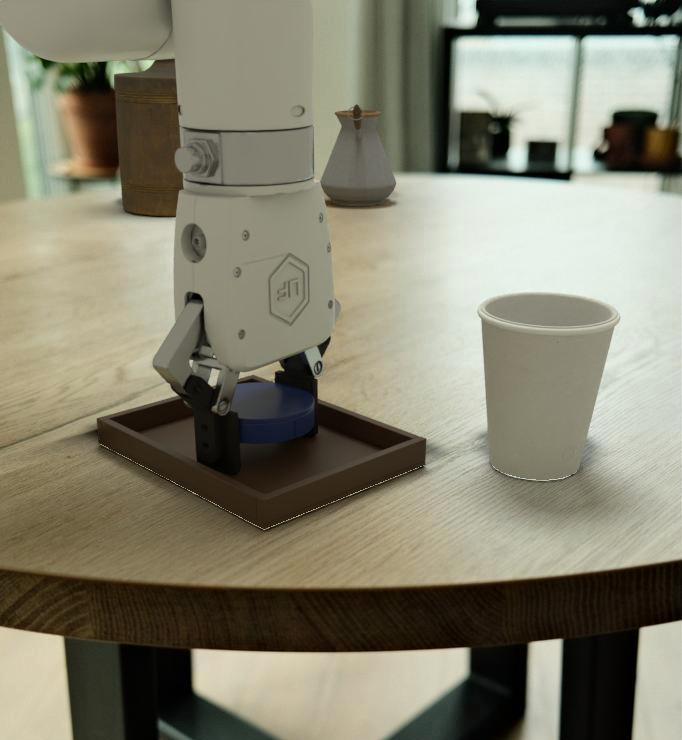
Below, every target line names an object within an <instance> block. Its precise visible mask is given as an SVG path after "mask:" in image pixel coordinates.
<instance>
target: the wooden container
mask: <svg viewBox="0 0 682 740" xmlns="http://www.w3.org/2000/svg"><path fill="white" fill-rule="evenodd" d="M113 89H114V96H115V97H114V99H115V113H116V114H115V115H116V116H115V117H116V133H117V150H118V151H117V152H118V162H119V163H118V166H119V167H118V168H119V176H120V177H119V179H120V185H121V188H120V191H121V200H122V208H123V210H124V211H126V212H128V213H131V214H136V215H141V216H150V217H176V211H177V203H178V195H179V191H180V190H183V189H184V187H183V173H182V172H180V171H179V170H178V168H177V167H176V164H175V152H176V151H177V149H178V148H181V143H180V128H179V127H180V125H179V113H178V98H177V83H176V68H175V59H163V60H153V63H152V64H151V65H150V66H149V67H147V68H146V69H145V70H142V71H135V72H118V73H114V74H113Z"/></svg>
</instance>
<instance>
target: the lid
mask: <svg viewBox="0 0 682 740" xmlns="http://www.w3.org/2000/svg"><path fill="white" fill-rule="evenodd" d="M230 411H233V412H237V413H238V417H239V435H240V443H248V444H265V443H276V442H282V441H287V440H291V439H295V438H298V437H300V436H303V435H305V434H306V433H308V432H309V431H310V430H312V428H313V427H314V397H313V396H312V394H310V393H309V392H308V391H306V390H304V389H301V388H297V387H293V386H289V385H285V384H279V383H275V382H274V383H264V382H257V383H242V384H237V385H236V389H235V393H234V396H233V400H232V404H231V407H230Z"/></svg>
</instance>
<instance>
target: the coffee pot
mask: <svg viewBox="0 0 682 740" xmlns="http://www.w3.org/2000/svg"><path fill="white" fill-rule="evenodd" d="M334 115H335V116H336V118H337V120H338V121H339V124H340V126H341V127H340V130H339V132H338V134H337V137H336V139H335V143H334V145H333V147H332V149H331V153H330V155H329V158H328V161H327V163H326V165H325V168H324V171H323V173H322V175H321V178H320V180H319V181H320V183H321V187H322V191H323V194H325V196H326V197H327V198H329V199H330V200H332V203H333V204H335V205H339V206H345V207H346V206H347V207H367V206H366V205H372V206H377V205H376V204H378V205H382V204H384V200H385V199H387V198H389V197H390V196H391V195H392V193H393V192H394V190H395V188H396V186H397V180H396V177H395V175H394V172H393V170H392V166H391V164H390V161H389V159H388V156H387V153H386V150H385V148H384V145H383V142H382V140H381V137H380V134H379V132H378V129H377V123H378V118H379V116H381V115H382V113H381V111H378V110H367V109H364V108H363V107H362V106H360V105H359V104H358V103H356V104H354V105H353V106H351V107H350V108H348V109H347V110H338V111H335V112H334ZM381 203H382V204H381Z"/></svg>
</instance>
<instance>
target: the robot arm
mask: <svg viewBox="0 0 682 740" xmlns="http://www.w3.org/2000/svg"><path fill="white" fill-rule="evenodd" d="M0 26H1V27H2V29H3V30H4V31H5V32H6V33H7V34H8V35H9V37H11V38H12V39H13V40H14V41H15V42H16V43H17V44H18V45H19V46H20V47H22V48H23V49H24V50H25V51H27V52H28V53H31V54H33V55H34V56H36V57H38V58H41V59H43V60H47V61H51V62H55V63H60V64H61V63H62V64H65V63H66V64H69V63H70V64H71V63H75V64H76V63H77V64H79V63H81V64H82V63H99V62H100V63H101V62H119V61H120V62H121V61H129V62H130V61H131V62H143V61H155V60H163V59H175V68H176V83H177V98H178V113H179V125H180V127H179V128H180V143H181V148H178V149H177V151H176V152H175V164H176V167H177V168H178V170H179V171H180V172H182V173H183V187H184V189H183V190H180V191H179V195H178V203H177V211H176V216H175V222H174V223H175V224H174V240H173V272H172V273H173V305H174V321H175V322H174V324H173V326H172V327H171V329H170V330H169V332H168V333H167V335H166V337H165V339H164V340H163V342H162V343H161V345H160V346H159V348H158V350H157V351H156V353H155V355H154V356H153V359H152V368H153V369H154V370H155V371H156V372H157V373H158V375H160V377H161V378H162V379H163V380H164V381H165V382H166V383H167V384H168V385H169V386H170V389H171V390H172V391H173V392H174V393H175V394H176V396H180V397H181V398H182V399H183V400H184V404H185V405H186V406H187V407H190V408H193V414H194V429H195V444H196V459H197V462H199V463H201V464H203V465H205V466H207V467H209V468H211V469H213V470H215V471H218V472H221V473H224V474H227V475H231V476H232V475H234V474H237V473H239V472H240V469H241V456H240V435H239V417H238V413H237V412H233V411H230V407H231V404H232V400H233V396H234V393H235V389H236V385H237V382H238V379H240V375H241V373H249V372H252V371H256V370H258V369H261V368H264V367H266V366H267V367H268V366H270V365H272V364H276V363H279V366H280V367H281V369H283V370H281V369H278V370H276V371H274V383H279V384H285V385H289V386H293V387H297V388H301V389H304V390H306V391H308V392H309V393H310V394H312V396H313V397H314V427H313V428H312V430H310V431H309V432H308V433H306V434H305V435H303V436H305V437H309V438H311V437H313V436H315V435H317V434H318V399H319V385H318V384H319V382H318V380H319V379H318V378H319V377H321V375H322V374H323V372H324V368H325V363H324V360H323V357H324V356H325V354H326V351H327V349H328V348H329V345H330V343H331V340H332V335H333V332H334V329H335V325H336V323H337V321H338V318H339V316H340V314H341V312H342V311H341V310H342V306H341V303H340V301H339V300H338V299H337V298H336V297H335V280H334V279H335V278H334V265H333V263H334V261H333V252H332V250H333V249H332V241H331V240H332V239H331V232H330V224H329V217H328V211H327V206H326V200H325V195H324V191H323V189H322V187H321V183H320V181H321V180H320V179H316V178H315V134H314V133H315V126H314V121H315V120H314V116H315V115H314V46H313V45H314V42H313V41H314V40H313V39H314V38H313V34H314V32H313V30H314V29H313V0H0ZM190 361H192V364H191V365H190ZM212 370H216V371H219V372H218V376H217V379H216V383H215V385H216V386H215V385H214V386H215V389H214V388H212V387H211V386H212V385H211V384H209V381H210V377H211V373H212Z"/></svg>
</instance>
